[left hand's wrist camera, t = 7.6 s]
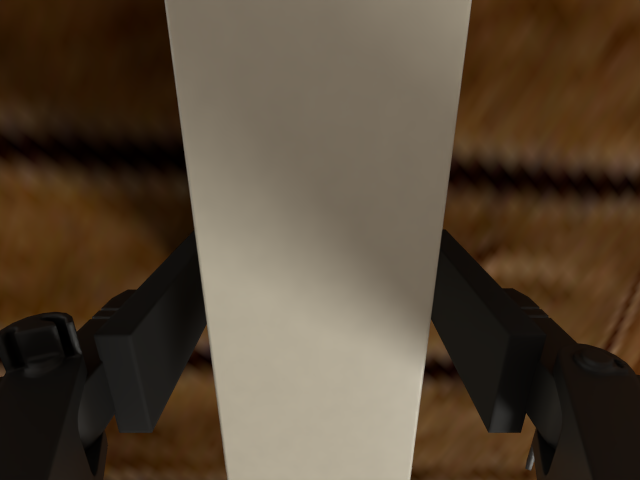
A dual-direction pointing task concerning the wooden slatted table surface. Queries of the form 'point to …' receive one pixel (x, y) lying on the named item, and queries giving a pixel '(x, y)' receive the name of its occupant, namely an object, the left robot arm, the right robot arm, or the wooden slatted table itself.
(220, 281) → the beam
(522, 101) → the wooden slatted table surface
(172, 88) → the wooden slatted table surface
